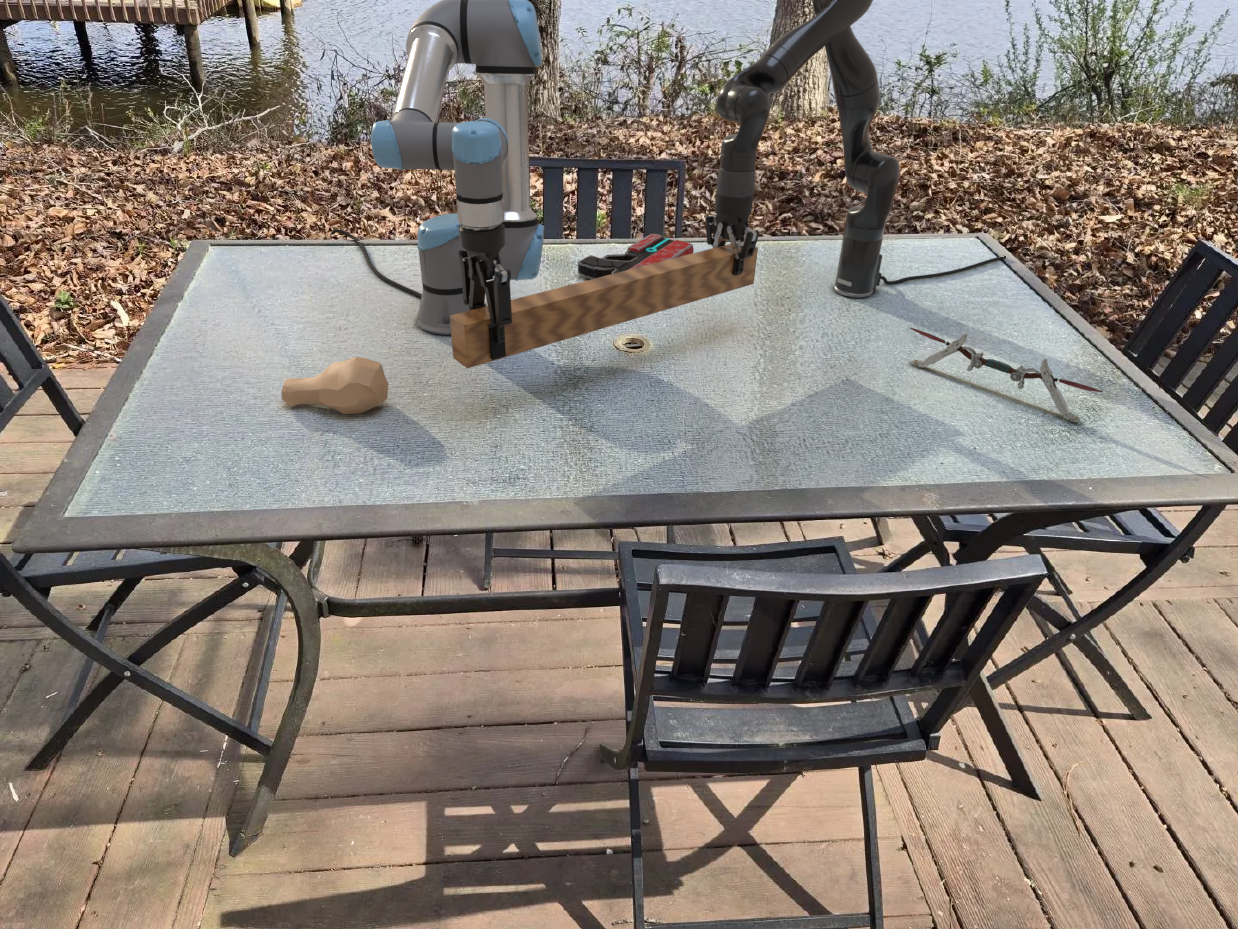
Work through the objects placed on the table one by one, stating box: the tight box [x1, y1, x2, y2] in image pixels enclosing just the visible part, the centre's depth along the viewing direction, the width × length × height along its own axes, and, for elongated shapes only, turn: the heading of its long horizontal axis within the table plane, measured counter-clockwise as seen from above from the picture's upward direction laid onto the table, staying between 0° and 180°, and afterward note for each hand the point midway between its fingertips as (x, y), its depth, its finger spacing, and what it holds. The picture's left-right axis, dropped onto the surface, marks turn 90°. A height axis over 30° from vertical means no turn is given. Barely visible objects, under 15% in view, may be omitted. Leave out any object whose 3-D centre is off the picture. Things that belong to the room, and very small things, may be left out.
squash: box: [281, 356, 389, 415], centre depth 163 cm, size 11×20×9 cm, turn 90°
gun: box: [577, 233, 695, 280], centre depth 225 cm, size 4×31×19 cm
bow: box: [909, 326, 1104, 423], centre depth 173 cm, size 39×2×10 cm, turn 47°
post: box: [450, 240, 759, 369], centre depth 170 cm, size 70×5×8 cm, turn 128°
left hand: (489, 351), depth 157 cm, fingers closed on post, 5 cm apart
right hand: (727, 270), depth 186 cm, fingers closed on post, 5 cm apart
